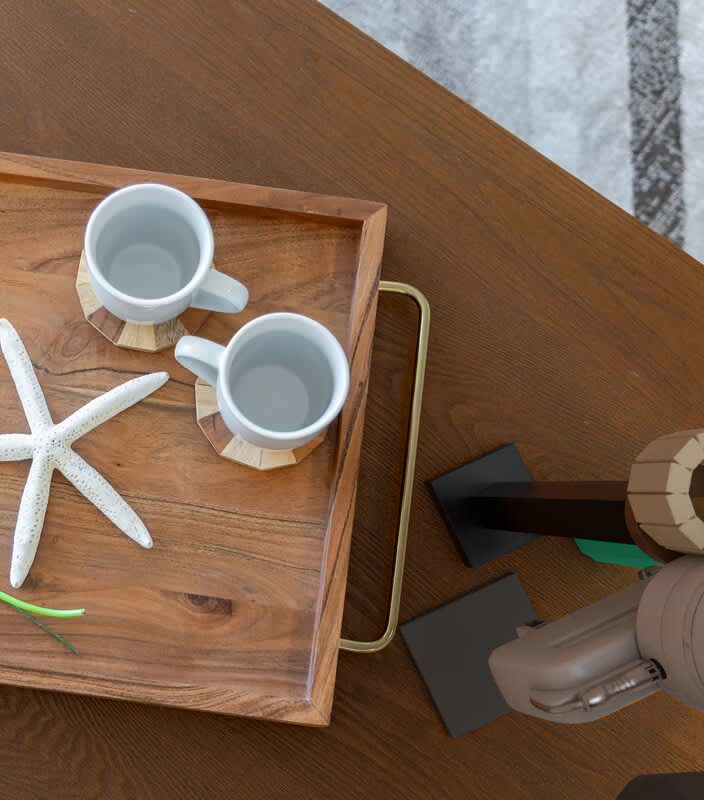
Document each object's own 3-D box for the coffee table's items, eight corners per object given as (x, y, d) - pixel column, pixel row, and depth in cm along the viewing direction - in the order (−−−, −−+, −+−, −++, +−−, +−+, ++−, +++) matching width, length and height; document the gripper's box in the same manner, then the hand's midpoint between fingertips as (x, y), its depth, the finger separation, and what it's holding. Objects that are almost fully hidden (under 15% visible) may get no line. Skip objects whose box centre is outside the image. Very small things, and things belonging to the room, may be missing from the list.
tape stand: (548, 528, 75) (857, 556, 45) (465, 567, 75) (719, 623, 44) (506, 443, 76) (781, 414, 45) (423, 481, 76) (644, 479, 45)
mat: (567, 681, 74) (570, 682, 74) (450, 737, 74) (453, 739, 73) (512, 571, 75) (516, 572, 74) (397, 626, 75) (399, 627, 74)
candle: (563, 551, 75) (650, 563, 63) (579, 483, 76) (669, 482, 64) (631, 571, 75) (731, 587, 63) (647, 504, 76) (750, 507, 64)
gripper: (590, 775, 46) (476, 713, 60) (928, 613, 47) (739, 589, 61) (535, 661, 47) (434, 626, 60) (869, 504, 48) (696, 504, 61)
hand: (590, 606), depth 61 cm, fingers open, 8 cm apart
